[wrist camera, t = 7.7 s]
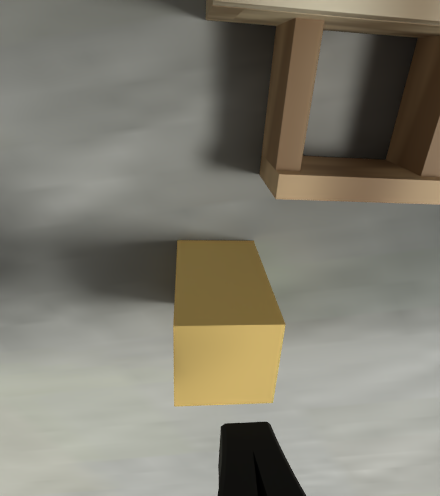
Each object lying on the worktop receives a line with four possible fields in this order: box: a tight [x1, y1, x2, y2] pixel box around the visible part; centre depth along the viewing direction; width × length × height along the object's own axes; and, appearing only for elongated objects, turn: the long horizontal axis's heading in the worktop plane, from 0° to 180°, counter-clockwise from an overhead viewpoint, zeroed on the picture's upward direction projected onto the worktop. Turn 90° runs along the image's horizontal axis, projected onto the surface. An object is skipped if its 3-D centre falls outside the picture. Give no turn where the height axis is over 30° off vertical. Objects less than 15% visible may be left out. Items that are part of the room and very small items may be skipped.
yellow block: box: [173, 240, 285, 406], centre depth 17 cm, size 4×4×7 cm
